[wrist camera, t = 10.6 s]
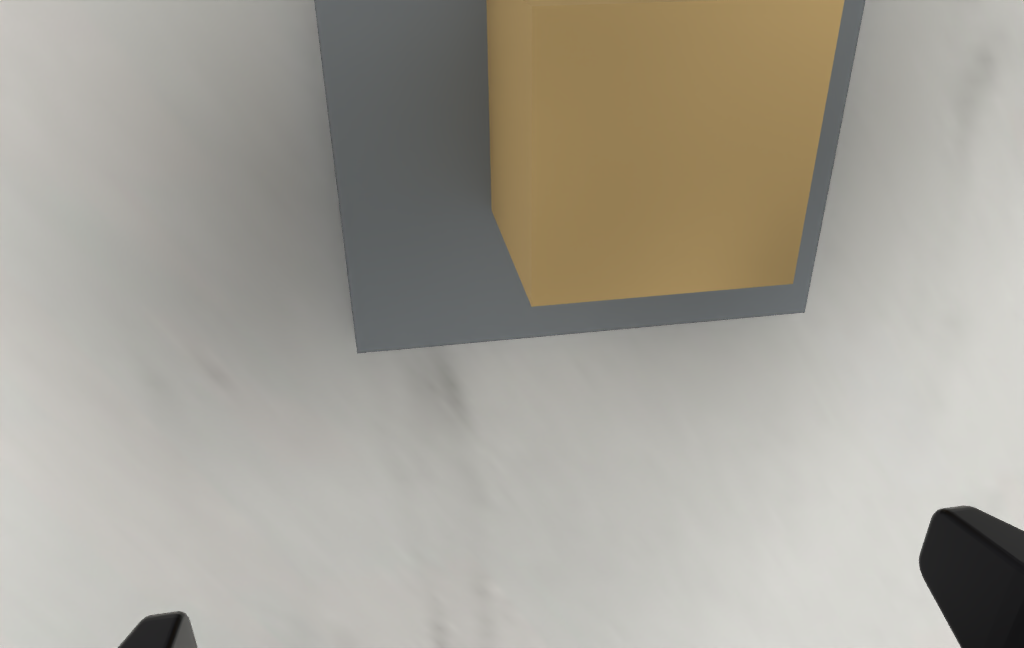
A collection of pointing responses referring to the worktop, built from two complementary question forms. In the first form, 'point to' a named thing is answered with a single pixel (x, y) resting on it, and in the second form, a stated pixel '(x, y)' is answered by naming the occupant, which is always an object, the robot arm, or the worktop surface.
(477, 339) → the grey mat
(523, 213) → the ochre cube
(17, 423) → the worktop surface
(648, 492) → the worktop surface
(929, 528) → the robot arm
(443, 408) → the worktop surface
